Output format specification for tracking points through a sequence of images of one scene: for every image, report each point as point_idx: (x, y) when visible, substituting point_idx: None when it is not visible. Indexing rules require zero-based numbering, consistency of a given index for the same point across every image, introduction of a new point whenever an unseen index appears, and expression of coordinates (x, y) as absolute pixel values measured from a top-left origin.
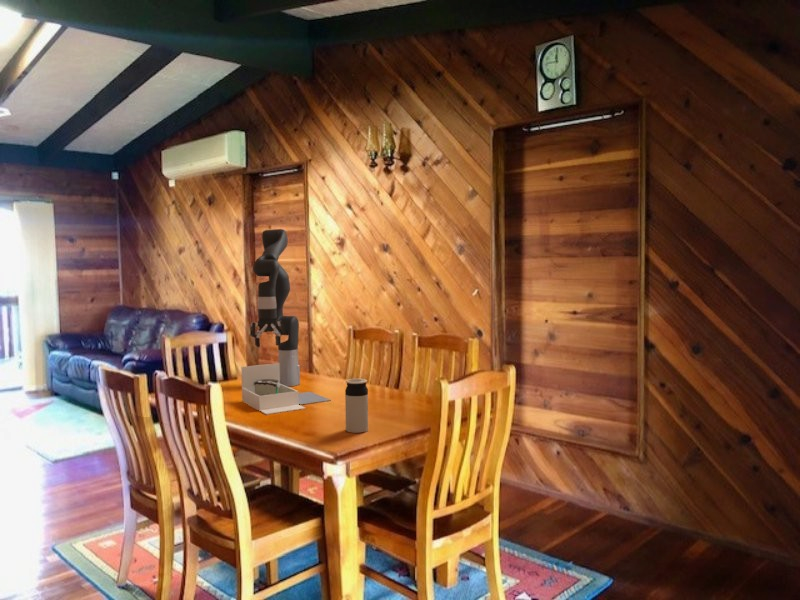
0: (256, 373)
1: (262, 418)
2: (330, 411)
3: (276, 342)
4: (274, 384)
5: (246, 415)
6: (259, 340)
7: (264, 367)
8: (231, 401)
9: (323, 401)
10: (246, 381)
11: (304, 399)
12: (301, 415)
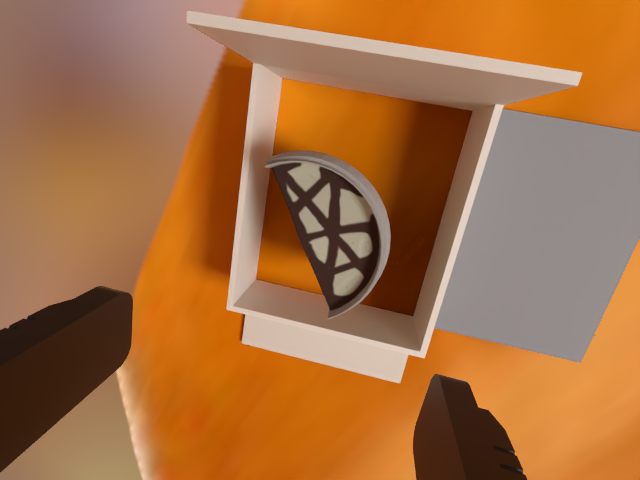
0: (333, 61)
1: (210, 368)
2: None
3: (434, 432)
4: (326, 299)
5: (186, 298)
6: (34, 435)
7: (406, 63)
8: (243, 18)
9: (539, 351)
10: (268, 59)
11: (506, 269)
12: (326, 431)
